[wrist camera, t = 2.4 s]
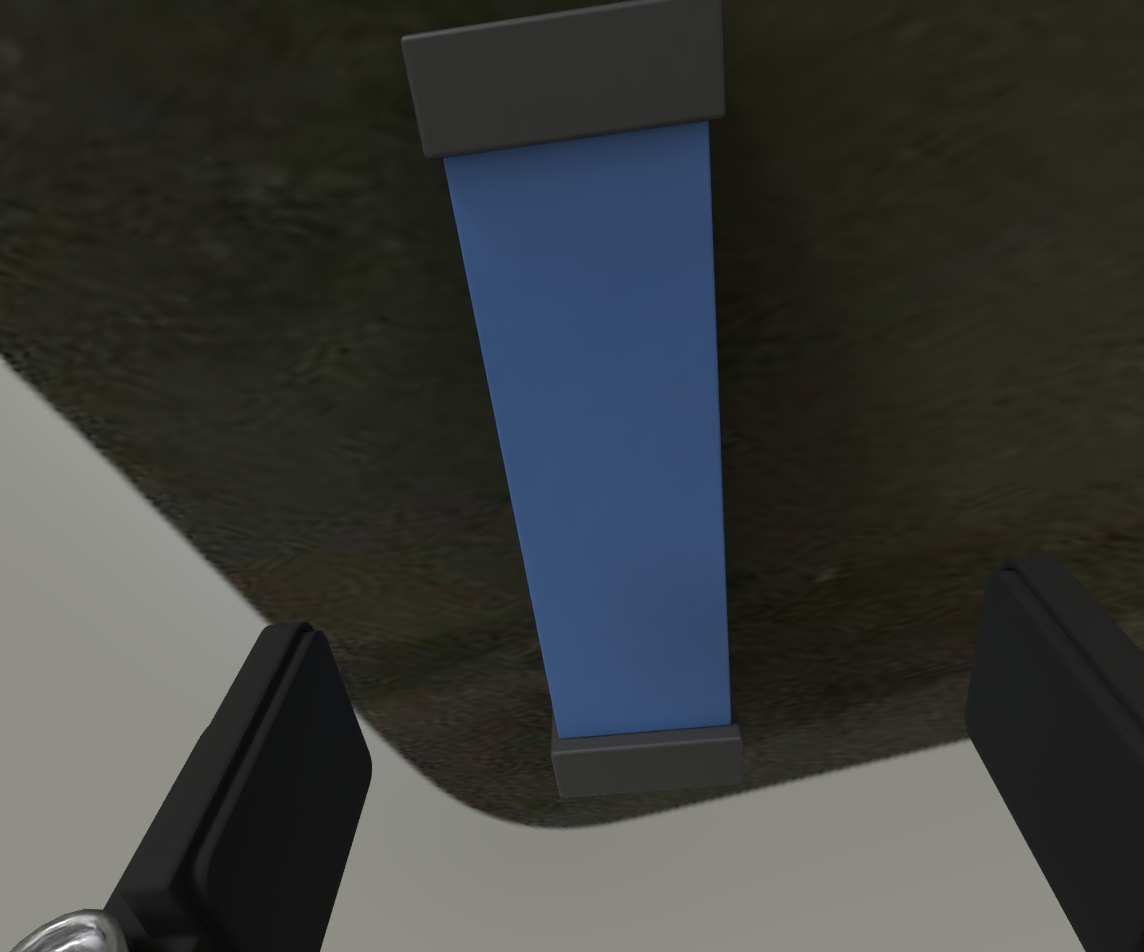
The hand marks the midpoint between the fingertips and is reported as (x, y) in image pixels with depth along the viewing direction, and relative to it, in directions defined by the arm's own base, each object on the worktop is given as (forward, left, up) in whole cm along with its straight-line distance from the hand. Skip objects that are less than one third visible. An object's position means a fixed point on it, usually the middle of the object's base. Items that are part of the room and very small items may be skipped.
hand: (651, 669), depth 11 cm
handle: (0, 0, -8) cm, 8 cm away
